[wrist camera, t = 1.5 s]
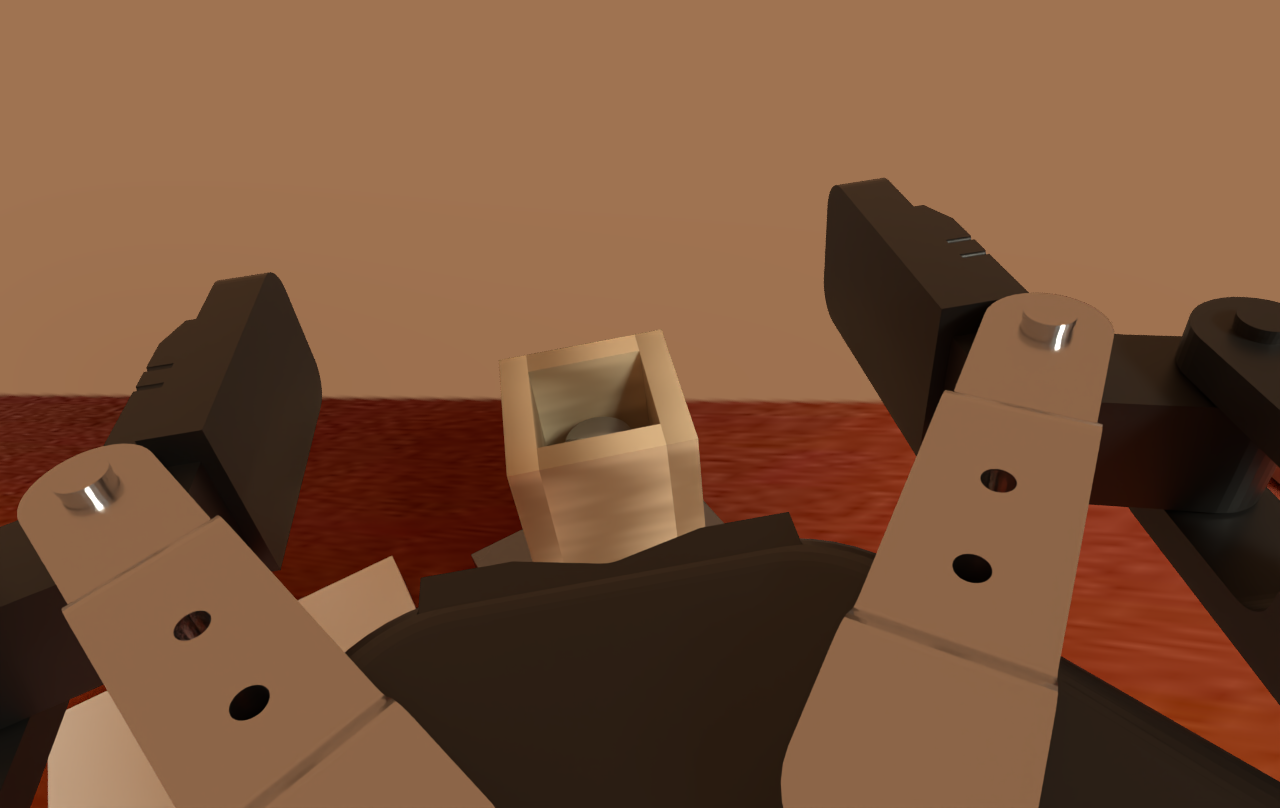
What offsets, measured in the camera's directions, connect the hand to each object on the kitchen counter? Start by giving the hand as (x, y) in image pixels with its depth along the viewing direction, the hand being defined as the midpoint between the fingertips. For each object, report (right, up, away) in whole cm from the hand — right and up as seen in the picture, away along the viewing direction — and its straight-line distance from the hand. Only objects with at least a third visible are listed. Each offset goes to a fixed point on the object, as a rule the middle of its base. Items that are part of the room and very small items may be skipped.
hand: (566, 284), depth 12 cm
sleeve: (0, -9, +22) cm, 24 cm away
